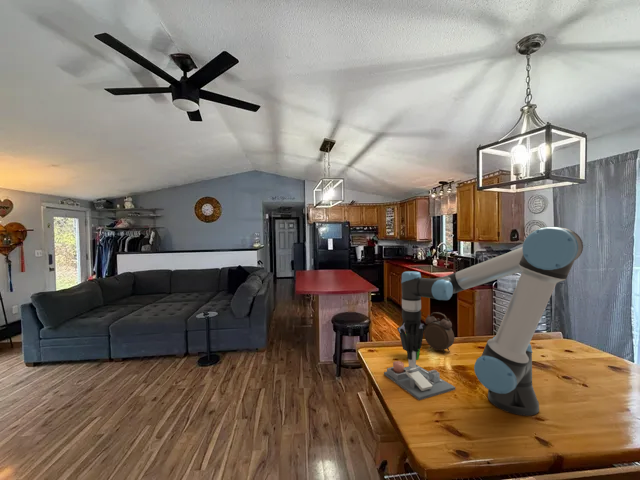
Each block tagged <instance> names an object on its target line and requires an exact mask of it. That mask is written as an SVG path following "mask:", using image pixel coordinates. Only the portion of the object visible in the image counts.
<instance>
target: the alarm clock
mask: <svg viewBox="0 0 640 480" xmlns="http://www.w3.org/2000/svg"><path fill="white" fill-rule="evenodd" d="M434 314H437V315H439V316H443V319H440V318H439V317H438V318H436V317H435V316H433V315H434ZM424 321H425V324H426V325H425V326H426V328H425V330H424V333H423V337H424V339H425V341H426V343H427V344H428V345H429V349H431V348H432V349H433V350H435V351H442V352H443V353H444V354H445V353H446V352H445V350H448V353H450V352H451V351H450V347H452V345H453V344H454V342H455V334H454V331H453V329H452V327H453V324H452V321H451V320H450V318H448V317H447V316H446V315H445V313H442V312H439V311H438V312H437V311H436V312H431V313H430V315H429V314H427V317H426V318H425V319H424Z"/></svg>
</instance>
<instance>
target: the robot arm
mask: <svg viewBox="0 0 640 480" xmlns="http://www.w3.org/2000/svg"><path fill="white" fill-rule="evenodd" d="M583 252H584V242H583V239H582V238H581V237H580V235H579V234H578V233H577V232H575V231H573V230H571V229H569V228H565V227H560V226H559V227H558V226H545V227H541V228H538V229H536V230H533V231H532V232H531V233H529V234H528V235H527V236H526V238H525V239H524V241H523V243H522V247H519V248H516V249H513V250H511V251H509V252H507V253H503V254H501V255H498V256H495V257H493V258H489V259H487V260H485V261H482V262H479V263H476V264H474V265H472V266H469V267H466V268H464V269H460V270H459V271H456V272H453V273H450V274H447V275H444V276H440V277H436V278H428V277H427V278H425V277H422V275H421V272H420V271H403V272H402V273H401V282H400V284H401V318H402V325H401V326H400V327H397V332H398V334H399V336H400V342H401V345H402V346H401V347H402V349H403V350H404V351H405V352H406V355H407V360H408V366H410V367H412V368H416V365H417V360H416V358H417V352H419V350H418V349H420V350H421V349H422V343H423V339H424V338H423V337H424V330H425V328H426V326H427V325H425V324H424V323H422V321H421V320H422V298H428V299H432V300H438V301H449V300H450V299H451V298H452V297H453V294H457V293H459V292H463V291H465V290H467V289H471V288H474V287H478V286H481V285H483V284H486V283H490V282H493V281H495V280H499V279H502V278H506V277H508V276H511V275H515V274H518V273H520V272H521V273H520V276H519V279H518V281H517V283H516V285H515V288H514V291H513V293H512V295H511V298H510V301H509V303H508V305H507V307H506V311H505V312H504V315H503V318H502V320H501V322H500V324H499V327H498V330H497V332H496V335H495V336H493V338H489V339H488V340H487V341H486V344H485V346H484V349H483V352H482V353H481V355H480V356H479V357H478V358H477V359H476V361H475V362H474V367H473V369H474V374H475V376H476V378H477V380H478V382H479V383H480V384H481V386H482V385H483V386H484V387H485V388H486V389H488V391H487V398H488V400H489V402H490V403H491V404H492V405H493V406H495V407H496V408H498V409H500V410H502V411H504V412H506V413H509V414H513V415H518V416H527V417H528V416H534V415H537V414H538V413H539V412H540V403H539V400H538V398H537V395H536V392H535V390H534V387H533V350H532V345H531V340H532V339H533V336H534V334H535V332H536V330H537V327H538V326H539V324H540V321H541V318H542V316H543V315H544V312H545V310H546V308H547V305H548V303H549V301H550V299H551V297H552V294H553V292H554V290H555V287H556V286H557V284H558V283H560V282H563V281H565V280H567V278H568V276H569V274H570V271H571V269H572V267H573V265H574V263H575V261H577V260H578V259H579V258H580V256H581V255H582V254H583Z"/></svg>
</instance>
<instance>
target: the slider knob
mask: <svg viewBox="0 0 640 480" xmlns="http://www.w3.org/2000/svg"><path fill="white" fill-rule="evenodd" d="M427 371H428V375H429V380H430V381H432V382H433V383H436V382H440V372H438V370H436V369H431V370H427Z"/></svg>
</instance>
